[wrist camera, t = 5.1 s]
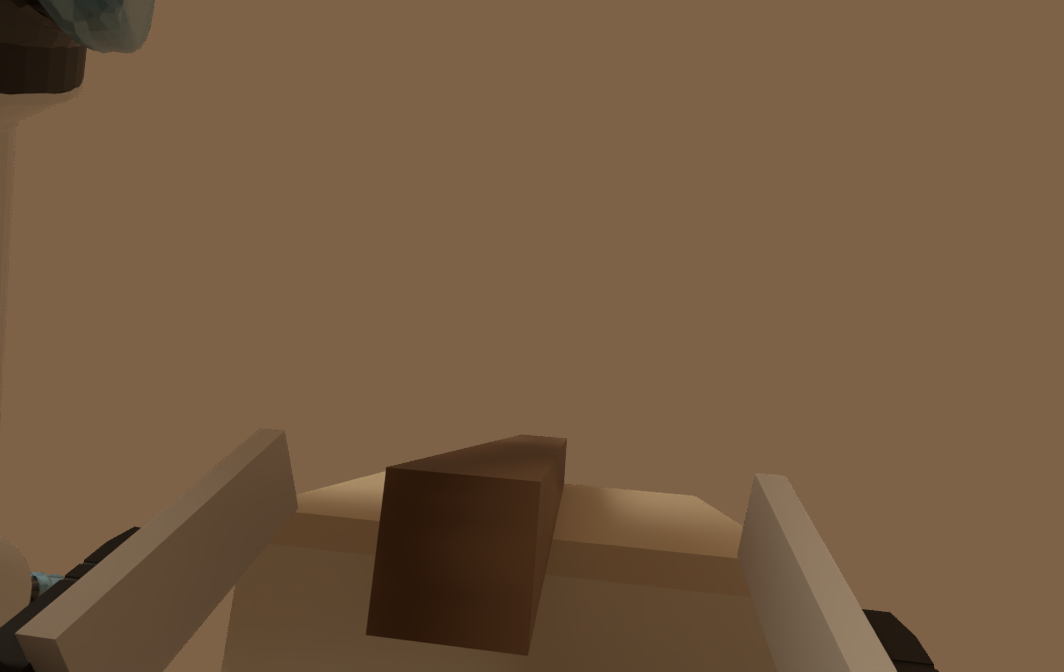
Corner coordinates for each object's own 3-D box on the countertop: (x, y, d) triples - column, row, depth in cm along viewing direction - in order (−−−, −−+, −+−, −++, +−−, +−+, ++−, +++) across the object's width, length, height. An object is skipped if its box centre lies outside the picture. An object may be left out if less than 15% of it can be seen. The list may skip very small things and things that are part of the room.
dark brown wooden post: (365, 634, 9) (386, 467, 10) (517, 481, 33) (521, 434, 33) (528, 656, 9) (541, 481, 9) (563, 485, 32) (566, 438, 33)
